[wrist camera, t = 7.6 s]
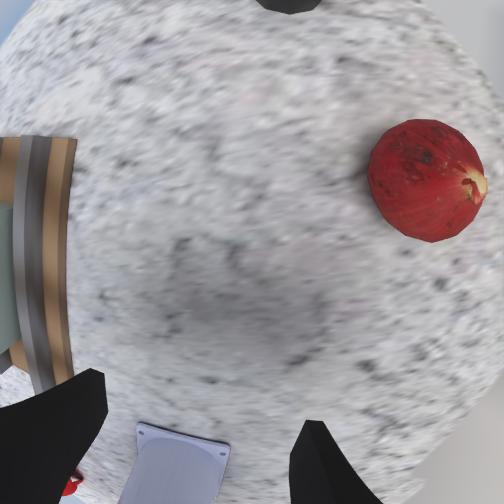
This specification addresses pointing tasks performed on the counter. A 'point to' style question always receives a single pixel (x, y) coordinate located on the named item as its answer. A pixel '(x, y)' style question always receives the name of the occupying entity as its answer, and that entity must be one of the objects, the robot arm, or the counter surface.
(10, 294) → the door panel
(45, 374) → the track board
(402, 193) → the onion
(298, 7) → the wooden tabletop sculpture
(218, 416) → the counter surface
